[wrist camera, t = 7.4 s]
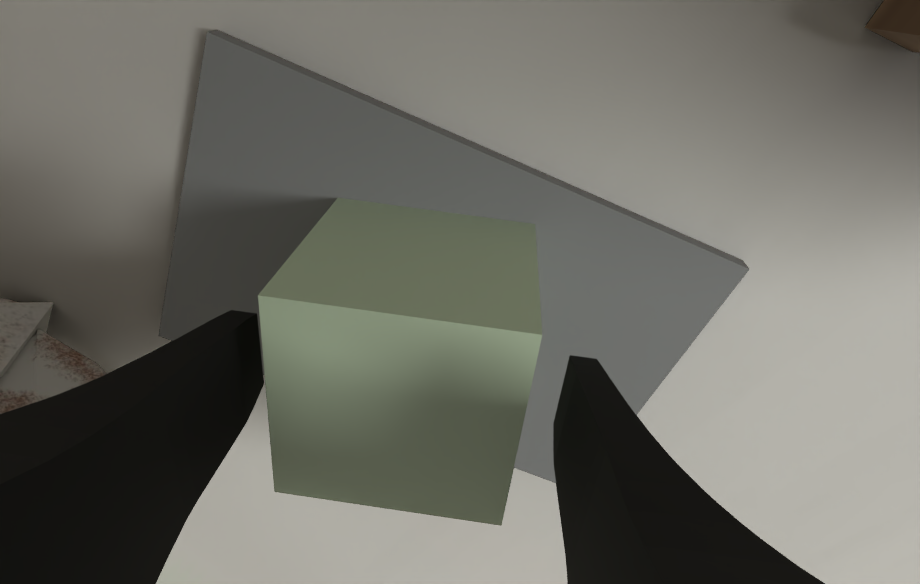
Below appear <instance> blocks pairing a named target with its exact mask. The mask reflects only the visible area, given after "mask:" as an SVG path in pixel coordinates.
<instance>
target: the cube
mask: <svg viewBox="0 0 920 584" xmlns="http://www.w3.org/2000/svg"><path fill="white" fill-rule="evenodd" d="M258 302H259V314H260V326H261V338H262V349H263V361H264V373H265V385H266V397H267V408H268V420H269V432H270V444H271V456H272V467H273V479H274V491H275V492H280V493H286V494H293V495H300V496H306V497H313V498H320V499H327V500H333V501H340V502H347V503H353V504H360V505H367V506H374V507H380V508H387V509H394V510H400V511H407V512H414V513H421V514H427V515H434V516H441V517H447V518H454V519H461V520H468V521H474V522H481V523H488V524H494V525H502V520H503V515H504V511H505V506H506V501H507V497H508V492H509V487H510V483H511V478H512V474H513V469H514V464H515V460H516V455H517V450H518V446H519V441H520V436H521V432H522V427H523V422H524V418H525V413H526V409H527V404H528V399H529V395H530V390H531V385H532V381H533V376H534V371H535V367H536V362H537V357H538V353H539V348H540V344H541V339H542V322H541V307H540V291H539V276H538V261H537V245H536V230H535V224H531V223H523V222H516V221H508V220H501V219H494V218H486V217H479V216H471V215H464V214H456V213H449V212H441V211H434V210H426V209H419V208H411V207H404V206H396V205H389V204H382V203H374V202H367V201H359V200H352V199H344V198H337V199H336V201H335V202H334V203H333V204H332V206H331V207H330V208H329V209H328V210H327V212H326V213H325V214H324V215H323V217H322V218H321V219H320V220H319V221H318V223H317V224H316V225H315V226H314V228H313V229H312V230H311V231H310V232H309V234H308V235H307V236H306V237H305V238H304V240H303V241H302V242H301V243H300V245H299V246H298V247H297V248H296V249H295V251H294V252H293V253H292V254H291V256H290V257H289V258H288V259H287V260H286V262H285V263H284V264H283V265H282V267H281V268H280V269H279V270H278V271H277V273H276V274H275V275H274V276H273V278H272V279H271V280H270V281H269V282H268V284H267V285H266V286H265V287H264V289H263V290H262V291H261V292H260V293H259V295H258Z"/></svg>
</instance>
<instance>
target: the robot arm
mask: <svg viewBox="0 0 920 584" xmlns="http://www.w3.org/2000/svg"><path fill="white" fill-rule="evenodd" d="M263 384H264V379H263V369H262V359H261V348H260V338H259V327H258V317H257V313H250V312H243V311H235V310H230V311H228V312H226V313H224V314H222V315H220V316H218V317H216V318H214V319H212V320H210V321H208V322H206V323H205V324H203V325H201V326H199V327H197V328H195V329H194V330H192V331H190V332H188V333H186V334H184V335H183V336H181V337H179V338H177V339H175V340H173V341H171V342H170V343H168V344H166V345H164V346H162V347H160V348H159V349H157V350H155V351H153V352H151V353H149V354H147V355H145V356H143V357H141V358H139V359H137V360H135V361H133V362H130V363H128V364H126V365H124V366H122V367H120V368H118V369H116V370H114V371H112V372H110V373H108V374H106V375H103V376H101V377H99V378H97V379H94V380H92V381H90V382H87V383H85V384H83V385H80V386H78V387H75V388H73V389H70V390H68V391H65V392H63V393H60V394H57V395H55V396H52V397H49V398H47V399H44V400H41V401H38V402H35V403H32V404H29V405H26V406H23V407H20V408H17V409H14V410H11V411H8V412H5V413H2V414H0V584H156V582H157V580H158V577H159V575H160V573H161V571H162V569H163V567H164V564H165V562H166V560H167V558H168V556H169V554H170V552H171V550H172V548H173V546H174V544H175V542H176V540H177V538H178V536H179V534H180V532H181V530H182V528H183V526H184V524H185V522H186V520H187V518H188V516H189V514H190V513H191V511H192V509H193V507H194V506H195V504H196V502H197V500H198V499H199V497H200V496H201V494H202V493H203V491H204V489H205V488H206V486H207V485H208V483H209V481H210V480H211V478H212V477H213V475H214V474H215V472H216V470H217V469H218V467H219V466H220V464H221V462H222V461H223V459H224V458H225V456H226V455H227V453H228V451H229V450H230V448H231V447H232V445H233V443H234V442H235V440H236V438H237V437H238V435H239V434H240V432H241V430H242V429H243V427H244V425H245V424H246V422H247V420H248V418H249V416H250V414H251V412H252V410H253V408H254V405H255V403H256V401H257V399H258V396H259V394H260V391H261V389H262V387H263ZM553 458H554V471H555V479H556V487H557V495H558V502H559V509H560V517H561V524H562V532H563V539H564V547H565V554H566V565H567V579H568V584H825V583H823V582H822V581H820V580H818V579H817V578H815V577H814V576H812V575H811V574H809V573H808V572H806V571H805V570H803V569H802V568H800V567H799V566H797V565H796V564H794V563H793V562H792V561H790V560H789V559H787V558H786V557H785V556H783V555H782V554H781V553H779V552H778V551H777V550H775V549H774V548H773V547H771V546H770V545H768V544H767V543H766V542H764V541H763V540H762V539H760V538H759V537H758V536H757V535H755V534H754V533H753V532H752V531H750V530H749V529H748V528H747V527H745V526H744V525H743V524H742V523H740V522H739V521H738V520H737V519H736V518H734V517H733V516H732V515H731V514H730V513H729V512H728V511H726V510H725V509H724V508H723V507H722V506H721V505H719V504H718V503H717V502H716V501H715V500H714V499H713V498H711V497H710V496H709V495H708V494H707V493H706V492H705V491H704V490H703V489H702V488H701V487H700V486H699V485H698V484H697V483H696V482H695V481H694V480H693V479H692V478H691V477H690V476H689V475H688V474H687V473H686V472H685V471H684V470H683V469H682V468H681V467H680V466H679V465H678V464H677V463H676V462H675V461H674V460H673V459H672V458H671V457H670V456H669V454H668V453H667V452H666V451H665V450H664V449H663V448H662V446H661V445H660V444H659V443H658V442H657V441H656V439H655V438H654V437H653V436H652V435H651V433H650V432H649V431H648V430H647V428H646V427H645V426H644V425H643V423H642V422H641V421H640V419H639V418H638V417H637V415H636V414H635V413H634V411H633V410H632V409H631V407H630V406H629V405H628V403H627V402H626V400H625V399H624V398H623V396H622V395H621V393H620V392H619V390H618V389H617V387H616V386H615V385H614V383H613V382H612V380H611V379H610V377H609V376H608V374H607V373H606V371H605V370H604V368H603V367H602V365H601V364H600V362H599V361H598V360H597V359H595V358H587V357H580V356H572V355H570V356H569V360H568V364H567V369H566V373H565V377H564V381H563V385H562V389H561V394H560V398H559V402H558V406H557V410H556V414H555V419H554V423H553Z"/></svg>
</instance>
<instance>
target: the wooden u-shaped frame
mask: <svg viewBox="0 0 920 584" xmlns="http://www.w3.org/2000/svg"><path fill="white" fill-rule="evenodd" d="M865 28H867V29H869V30H871V31H873V32H875V33H877V34H879V35H881V36H882V37H884V38H886V39H888V40H890V41H892V42H894V43H896V44H898V45H900V46H902V47H904V48H906V49H908V50H910V51H912V52H917V53H920V0H884V1H883V2H882V4H881V5H880V7H879V8H878V9H877V11H876V12H875V14H874V15H873V16H872V18H871V19H870V21H869V22H868V23H867V25H866V26H865Z"/></svg>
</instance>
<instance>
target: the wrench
mask: <svg viewBox="0 0 920 584" xmlns="http://www.w3.org/2000/svg"><path fill="white" fill-rule="evenodd" d="M52 307H53V303H52V302H20V303H18V302H16V301H13V300H9V299H0V414H2V413H5V412H8V411H11V410H14V409H17V408H20V407H23V406H26V405H29V404H32V403H35V402H38V401H41V400H44V399H47V398H49V397H52V396H55V395H57V394H60V393H63V392H65V391H68V390H70V389H73V388H75V387H78V386H80V385H83V384H85V383H87V382H90V381H92V380H94V379H97V378H99V377H101V376H103V375H106V374H107V373H106V372H105V371H104V370H103V369H102V368H101V367H100V366H99V365H98V364H97V363H96V362H94V361H92V360H90V359H89V358H87V357H85V356H83V355H82V354H80V353H78V352H77V351H75V350H73V349H71V348H70V347H68V346H66V345H65V344H63V343H61V342H59V341H58V340H56V339H55V338H53V337H51V336H50V335H48V334H47V333H46V331H47V327H48V323H49V319H50V315H51V311H52Z"/></svg>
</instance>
